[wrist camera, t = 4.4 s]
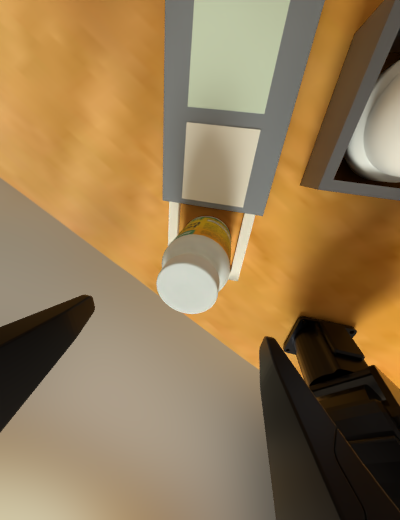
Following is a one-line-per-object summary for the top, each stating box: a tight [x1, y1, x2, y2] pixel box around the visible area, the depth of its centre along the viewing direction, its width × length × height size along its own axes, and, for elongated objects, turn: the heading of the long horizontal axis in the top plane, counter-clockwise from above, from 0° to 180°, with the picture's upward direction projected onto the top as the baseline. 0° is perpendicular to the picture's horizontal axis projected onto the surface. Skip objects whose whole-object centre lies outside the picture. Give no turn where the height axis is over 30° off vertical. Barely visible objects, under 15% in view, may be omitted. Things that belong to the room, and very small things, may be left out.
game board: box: [163, 0, 325, 281], centre depth 16 cm, size 22×10×1 cm, turn 173°
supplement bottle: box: [157, 216, 231, 314], centre depth 15 cm, size 5×5×10 cm
